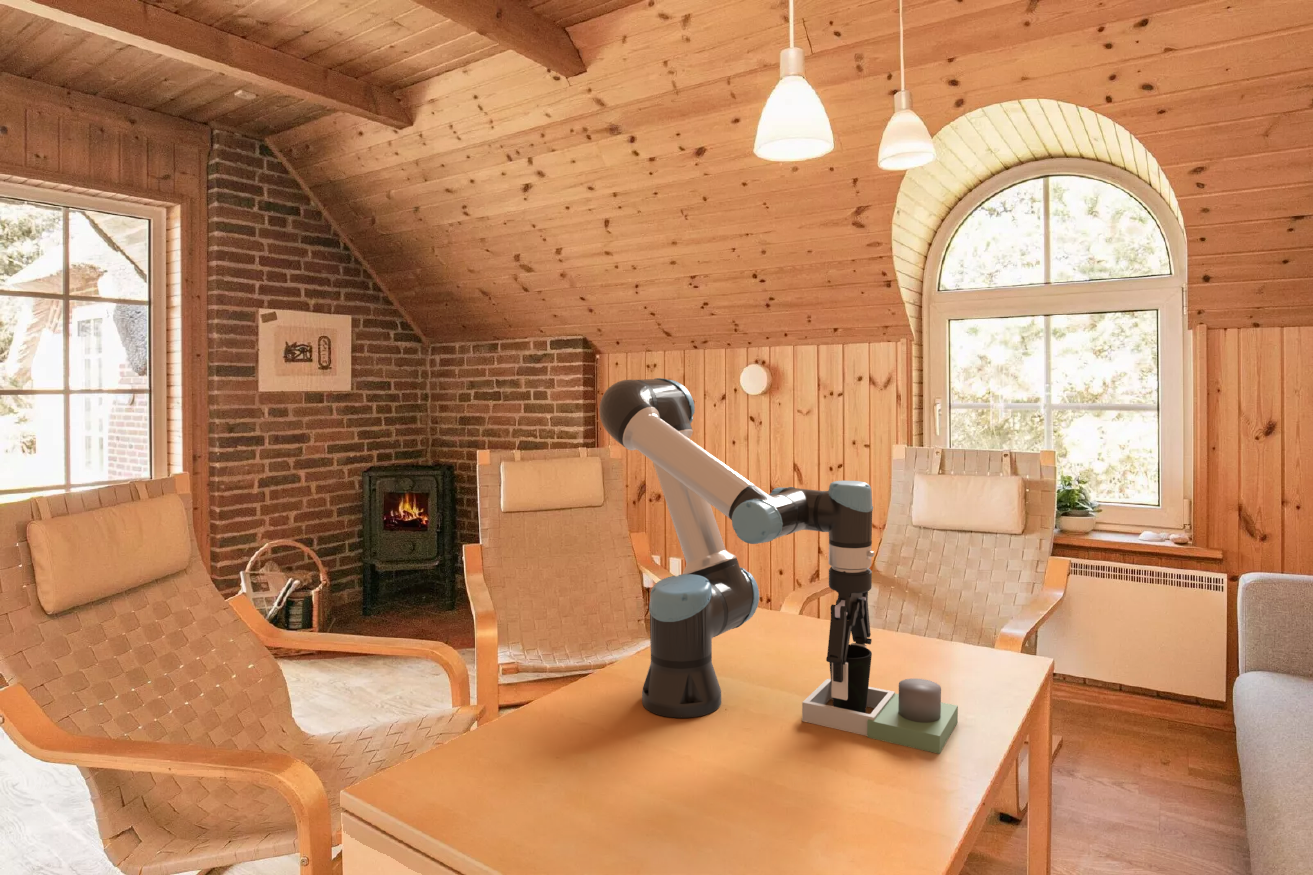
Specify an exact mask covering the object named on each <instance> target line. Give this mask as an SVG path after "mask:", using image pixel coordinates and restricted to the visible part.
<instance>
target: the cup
mask: <svg viewBox="0 0 1313 875" xmlns="http://www.w3.org/2000/svg"><path fill="white" fill-rule="evenodd" d="M872 656H873V654H872V651H871V650H870V649H869V648H867V647H866V648H865V647H862V646H858V645H851V644H850V643H849V646H848V652H847V658H846V663H848V699H847V700H843V699H838V698H833V699H832V706H834V707H838V708H843V709H848V710H852V711H857V712H862V713H866V714H867V706H866V705H867V695H868V687H870V684H869V682H870V674H871V666H872V665H871V664H872ZM828 664H829V672H830V679H831V686H832V663H831V662H828Z"/></svg>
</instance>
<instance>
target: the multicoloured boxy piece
mask: <svg viewBox="0 0 1313 875" xmlns="http://www.w3.org/2000/svg"><path fill="white" fill-rule="evenodd" d="M830 700H833V697H832V686H831V678H826V679H825V680H823V682H822V683H821V684H820V685H819V686H817V688H816V689H815V690H813V691H812V692H811V693H810V694H809V695H808V696H807V697H806V698H805V699H804V700H803V701H802V702H801V707H802V708H801V710H802V711H801V712H802V714H801V717H802V718H801V721H802V722H804V723H805V722H806V723H810V724H813V725H818V726H822V727H827V728H830V729H835V730H836V729H837V730H840V731H845V732H849V733H852V734H857V735H861V736H865V737H866V736H867V737H866V738H869V739H873V740H878V741H882V742H886V743H890V744H891V743H892V744H895V745H900V746H904V747H909V748H912V749H917V750H921V751H925V752H929V753H930V752H931V753H934V754H938V755H940V754H941V752H942V751H943V749H944V747H945V745H946V744H947V741H948V740H949V738H950V736H951V735H952V733H953V731H954V730H955V727H956V726H957V724H958V720H959V718H958V716H959V715H958V714H959V706H958V705H957V704H953V703H946V702H942V687H941V685H940V684H938V683H937V682H935V681H932V680H930V679H929V680H928V679H925V678H924V679H923V678H905V679H902V680H900V681H899V683H898V693H896V691H893V690H888V689H883V688H879V687H873V686H868V695H867V705H866V708H868V707H869V708H872V709H873V710H872V711H871V713H867V712H866V713H862V712H857V711H852V710H848V709H843V708H838V707H834V706H833V705H829V704H827V703H828V702H830Z"/></svg>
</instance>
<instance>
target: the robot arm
mask: <svg viewBox="0 0 1313 875" xmlns="http://www.w3.org/2000/svg"><path fill="white" fill-rule="evenodd" d="M598 407H599V409H598V411H599V419H600V421H601V424H602V426H603V428H604V430H605V431H606V433H608V434H609V435H610V436H611V438H612V439H614V441H616V442H617V443H619V444H620V445H622V447H624V448H625V449H626V450H629V451H635V450H637V451H639V453H640V454H642V455H644V456H645V457H646V458H648V459H649V460H650V461H651V462H652V464H653V467H654V470H655V473H656V475H657V479H658V482H659V485H660V488H661V491H662V494H663V497H664V501H665V503H666V506H667V509H668V512H669V516H670V518H671V521H672V524H673V526H674V530H675V533H676V535H677V539H678V542H679V544H680V548H681V551H682V554H683V556H684V559H685V563H686V564H685V567H684V569H683V571H682V574H678V575H670V576H667V577H664V578H662V579H660V580H659V581H657V582H655V584H654V585H653V587H652V588H651V590H650V594H649V595H650V596H649V597H650V598H649V603H648V609H649V610H648V612H649V628H650V629H649V632H650V637H649V638H650V639H649V640H650V663H649V664H650V665H649V667H648V671H647V674H646V676H645V680H644V683H643V686H642V692H641V701H642V702H641V703H642V706H643V707H644V708H645V710H647V711H649V713H653V714H655V715H657V716H662V717H667V718H677V719H681V718H682V719H687V718H698V717H700V716H701V717H702V716H705V715H709V714H711V713H713V712H715V711H716V710H718V709H719V708H720V706H721V704H722V688H721V685H720V684H719V680H718V676H717V674H716V671H715V667H714V665H713V662H712V661H713V656H712V654H713V653H712V652H713V645H712V643H713V642H712V640H713V639H714V638H716V637H718V636H720V635H722V634H724V633H726V632H728V631H730V630H733V629H737V628H739V627H741V626H742V625H744V624H745V623H746V622H748V621H749V620H750V619H751V618H752V617H753V616H754V615H755V613H756V610H757V609H758V606H759V602H760V591H759V585H758V583H757V581H756V579H755V578H754V576H753V574H752V573H751V572H749V571H747V570H746V568H743V567H741V566H740V563H739V561H738V558H737V555H735V554H733V553H732V552H730V551H728V550H727V549H726V546H725V543H724V541H723V537H722V535H721V531H720V529H719V525H718V522H717V520H716V517H715V514H714V512H713V508H715V509H716V510H717V511H719V512H720V513H721V514H723V515H725V517H727V518H728V519H729V520H731V525H732V529H733V531H734V532H735V534H736V536H737V538H739V539H740V540H741V542H745V543H746V544H750V545H757V544H764V543H769V542H771V541H773V540H776V539H778V538H781V537H783V536H787V535H791V534H795V533H796V532H799V531H813V532H814V531H815V532H821V533H828V565H829V566H830V567H829V569H828V587H829V588H830V589H831V590H832V591H836V592H837V594H838V595H837V599H836V600H835V604H831V606H830V622H829V623H830V624H829V632H828V645H827V655H826V658H825V659H826V662H827V663H829V662H831V663H832V697H833V698H838V699H843V700H847V699H848V663H846V658H847V652H848V646H849V644H850V640H851V637H852V641H853V642H852V643H851V645H858V646H862V647H865V648H867V645H871V644H872V638H871V635H872V634H871V633H872V632H871V626H870V625H871V624H870V613H869V597H868V596H869V591H870V590H871V589H872V587H873V586H872V585H873V584H872V578H873V577H872V573H873V572H872V569H871V567H872V561H873V560H872V557H875V551H873V550H872V544H873V541H872V539H873V536H872V535H873V511H874V506H873V495H872V486H871V485H870V484H869V483H867V482H865V481H860V480H834V481H832V482H831V483H830V484H829V486H828V490H816V489H809V488H806V489H805V488H798V487H797V488H796V487H794V486H788V487H783V486H782V487H779V486H778V487H775V488H773V489H772V490H771V493H769V494H768V493H766V492H765V491H764V490H762V489H761V488H760V487H758V486H756V485H755V484H754V483H752V482H750V481H749V480H748V479H747V478H745V477H744V476H743V475H742V474H740V473H738V472H737V471H735V470H734V469H733V468H731V467H730V466H728V465H727V464H725V463H724V462H723V461H721V460H720V459H718V458H717V457H716V456H714V455H713V454H711V453H710V452H708V451H707V450H706V449H704V448H703V447H702V446H700V445H698V443H696V442H694V441H693V440H692V439H691V438H692V436H693V433H694V430H693V428H692V422H693V420H694V415H695V408H696V407H695V402H694V399H693V397H692V395H691V393H690V391H689V389H687V387H686V386H684V385H683V384H682V383H680V382H678V381H677V380H674V379H667V378H660V377H659V378H657V377H655V378H653V379H652V378H649V379H624V380H619V381H617V382H616V383H613V384H612V385H610V386H609V387H608V388H607V389H606V391H605V392H603V395H602V397H601V399H600V402H599V406H598ZM712 506H713V508H712Z"/></svg>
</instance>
